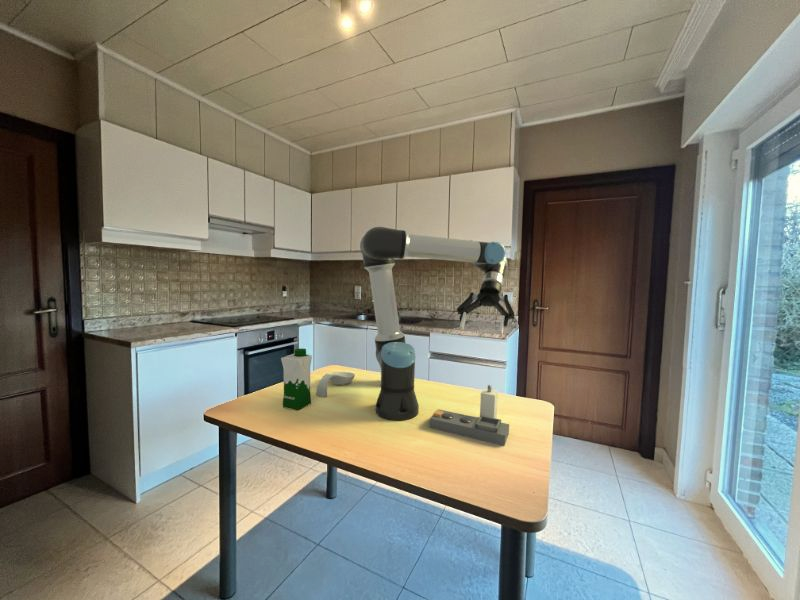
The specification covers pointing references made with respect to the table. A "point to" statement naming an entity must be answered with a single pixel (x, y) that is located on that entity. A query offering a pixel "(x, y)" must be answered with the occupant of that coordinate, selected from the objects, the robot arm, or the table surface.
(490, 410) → the white block with knob
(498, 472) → the table surface
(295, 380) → the milk carton
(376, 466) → the table surface
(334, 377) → the grey ladle
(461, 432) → the power strip
